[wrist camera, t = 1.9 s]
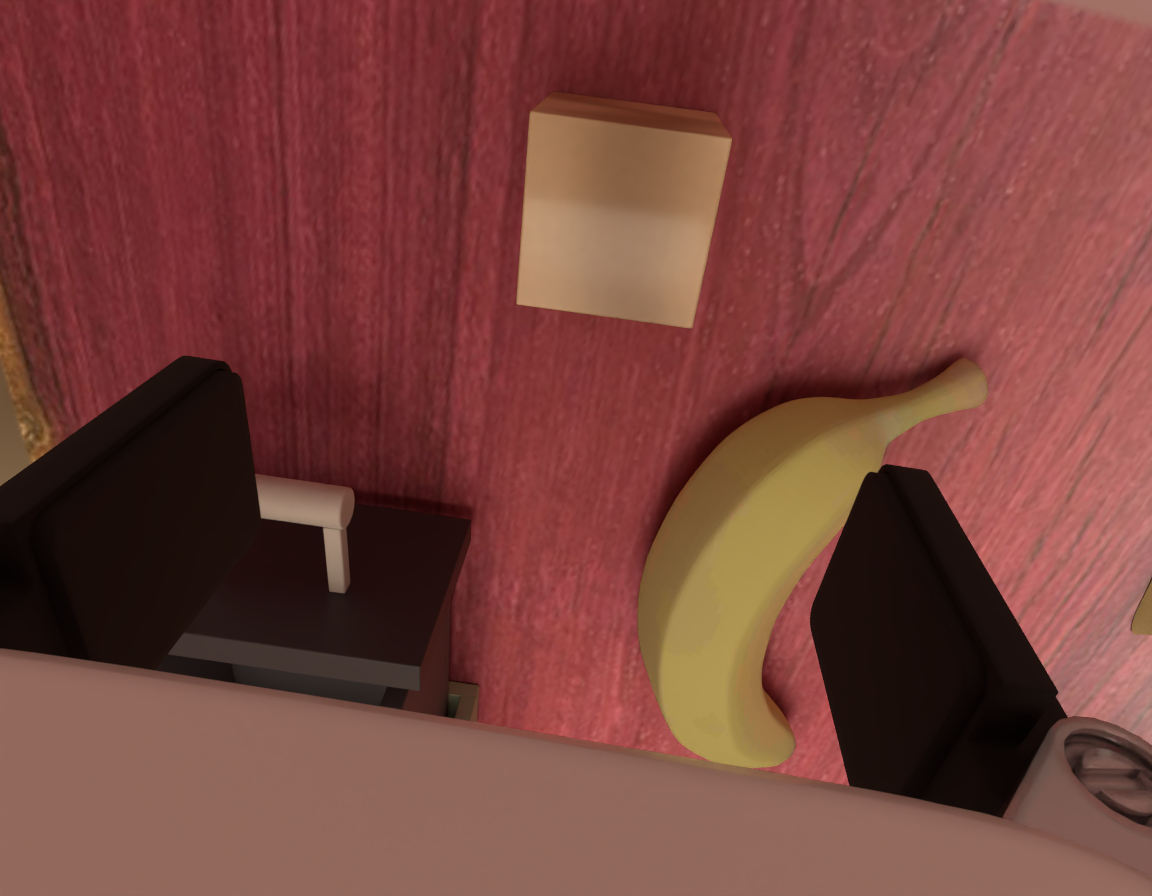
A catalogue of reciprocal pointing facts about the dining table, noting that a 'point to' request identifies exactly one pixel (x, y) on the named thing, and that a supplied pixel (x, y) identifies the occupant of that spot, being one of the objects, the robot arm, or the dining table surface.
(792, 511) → the banana
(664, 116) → the block
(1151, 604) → the decorative fish sculpture
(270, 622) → the pull-out tray
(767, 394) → the dining table surface
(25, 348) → the dining table surface
